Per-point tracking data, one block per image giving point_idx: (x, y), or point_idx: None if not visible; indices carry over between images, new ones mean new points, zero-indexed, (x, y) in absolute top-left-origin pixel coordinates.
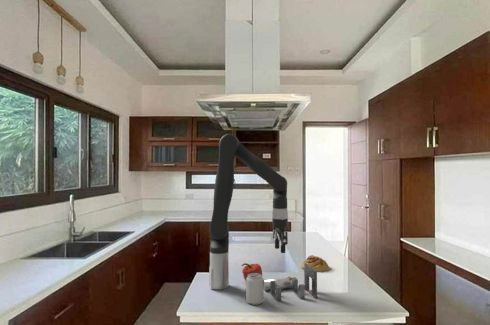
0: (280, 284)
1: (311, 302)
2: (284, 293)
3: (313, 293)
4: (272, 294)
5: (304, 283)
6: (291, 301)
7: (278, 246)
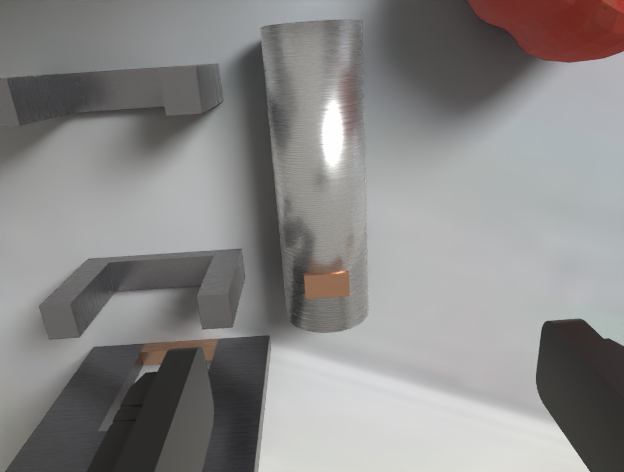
0: (274, 178)
1: (32, 308)
2: (210, 180)
3: (108, 361)
4: (153, 68)
5: (266, 361)
6: (48, 187)
7: (559, 404)
